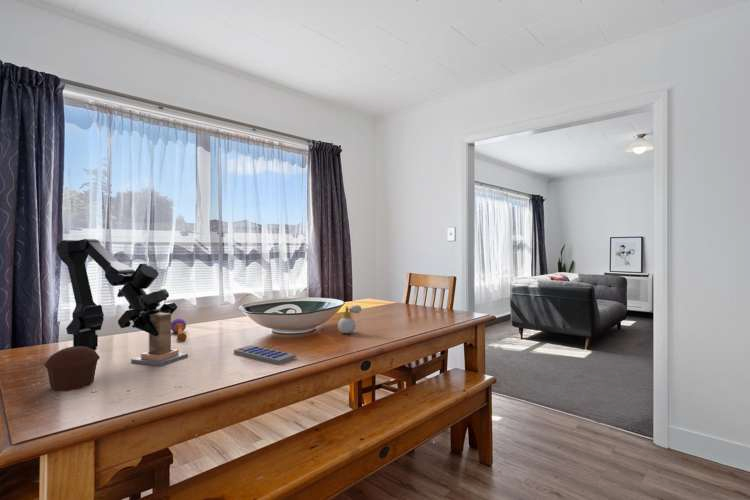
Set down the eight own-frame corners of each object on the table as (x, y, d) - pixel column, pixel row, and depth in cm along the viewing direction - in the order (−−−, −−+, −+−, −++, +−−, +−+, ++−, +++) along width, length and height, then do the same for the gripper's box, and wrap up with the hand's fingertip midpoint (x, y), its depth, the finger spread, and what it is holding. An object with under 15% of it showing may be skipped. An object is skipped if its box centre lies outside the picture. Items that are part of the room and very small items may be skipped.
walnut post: (149, 354, 125) (149, 314, 125) (160, 351, 129) (160, 312, 129) (159, 356, 124) (160, 315, 124) (170, 352, 128) (171, 313, 128)
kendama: (172, 332, 148) (168, 319, 165) (175, 346, 149) (171, 332, 166) (188, 327, 151) (183, 315, 168) (191, 342, 152) (186, 328, 169)
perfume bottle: (334, 332, 167) (334, 305, 167) (353, 329, 173) (353, 303, 172) (343, 336, 161) (344, 307, 161) (363, 333, 167) (363, 305, 167)
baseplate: (131, 362, 123) (131, 354, 123) (159, 353, 134) (159, 345, 134) (160, 366, 120) (160, 358, 120) (187, 356, 130) (187, 349, 130)
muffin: (54, 397, 95) (54, 356, 95) (37, 387, 101) (36, 349, 101) (107, 382, 105) (107, 346, 105) (89, 375, 111) (89, 340, 111)
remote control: (278, 366, 123) (278, 359, 123) (231, 354, 134) (231, 348, 134) (295, 360, 130) (295, 353, 130) (249, 349, 141) (249, 343, 141)
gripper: (125, 284, 118) (152, 323, 115) (173, 279, 136) (198, 312, 133) (105, 308, 121) (132, 347, 118) (155, 300, 139) (180, 333, 136)
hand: (163, 333), depth 126 cm, fingers closed on walnut post, 4 cm apart
